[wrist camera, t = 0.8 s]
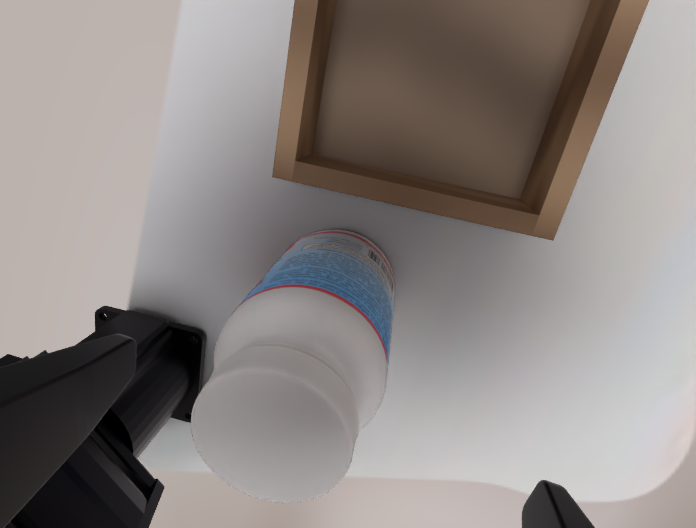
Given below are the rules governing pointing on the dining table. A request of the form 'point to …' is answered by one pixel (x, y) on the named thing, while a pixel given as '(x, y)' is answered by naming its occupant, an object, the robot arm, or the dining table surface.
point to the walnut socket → (451, 102)
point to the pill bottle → (299, 370)
